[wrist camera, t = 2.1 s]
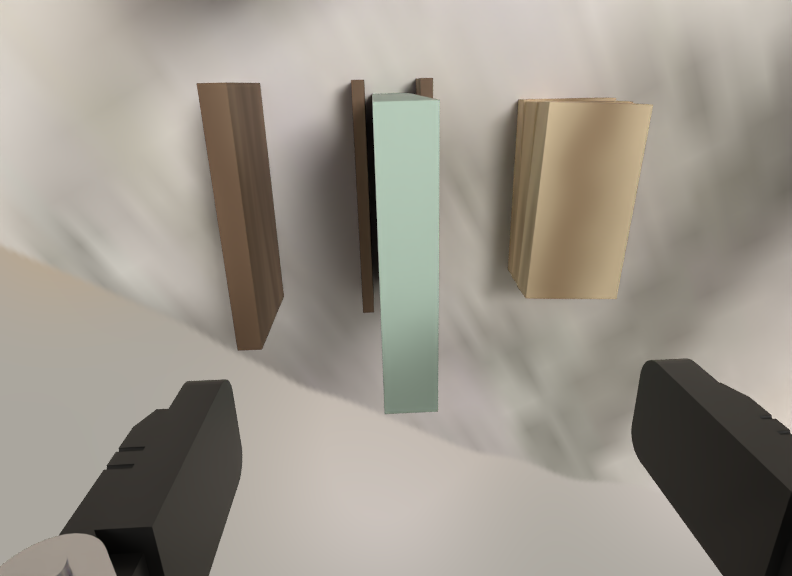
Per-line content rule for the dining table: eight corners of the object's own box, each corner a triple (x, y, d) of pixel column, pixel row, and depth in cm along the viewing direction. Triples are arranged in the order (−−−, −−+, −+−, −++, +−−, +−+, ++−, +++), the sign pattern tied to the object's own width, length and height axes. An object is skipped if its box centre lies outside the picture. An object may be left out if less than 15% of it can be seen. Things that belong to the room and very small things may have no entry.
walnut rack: (426, 78, 28) (443, 76, 22) (427, 290, 33) (441, 341, 26) (237, 83, 28) (196, 83, 21) (264, 297, 32) (237, 350, 26)
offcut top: (635, 103, 26) (653, 104, 25) (602, 287, 30) (616, 298, 28) (538, 101, 26) (549, 102, 25) (517, 286, 30) (525, 298, 28)
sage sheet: (408, 93, 29) (439, 99, 15) (411, 280, 33) (438, 411, 20) (372, 93, 28) (372, 101, 15) (379, 281, 32) (384, 414, 19)
